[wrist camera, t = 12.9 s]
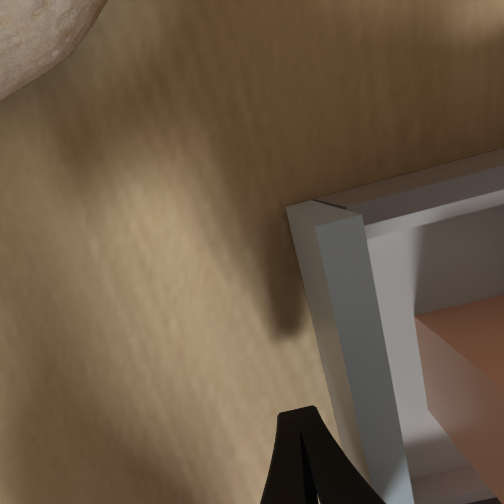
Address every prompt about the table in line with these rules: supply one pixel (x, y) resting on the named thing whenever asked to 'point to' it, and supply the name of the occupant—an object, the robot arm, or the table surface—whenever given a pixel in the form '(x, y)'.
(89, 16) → the stone
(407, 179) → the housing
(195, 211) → the table surface
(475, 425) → the block
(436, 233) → the tray
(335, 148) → the table surface
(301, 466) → the robot arm
